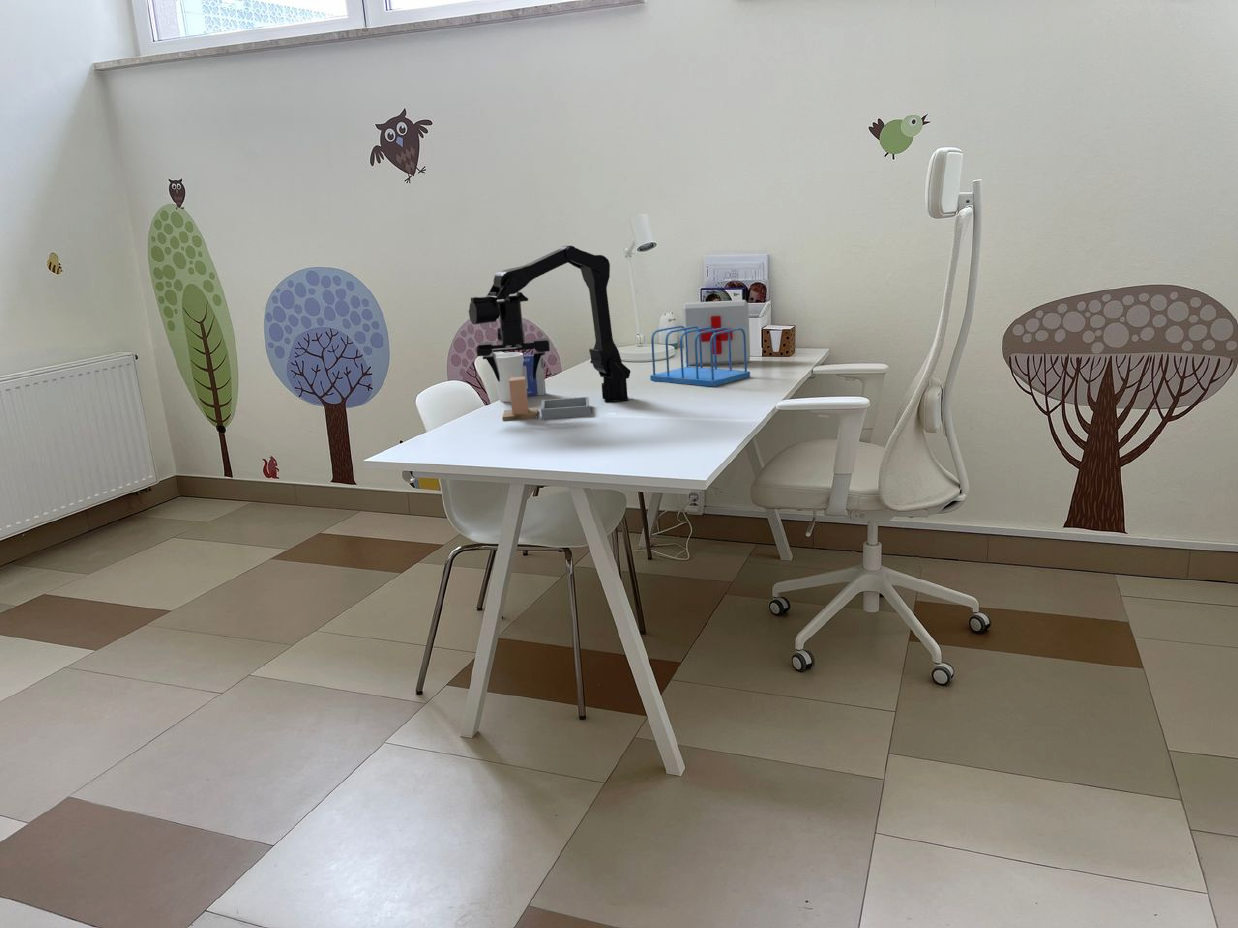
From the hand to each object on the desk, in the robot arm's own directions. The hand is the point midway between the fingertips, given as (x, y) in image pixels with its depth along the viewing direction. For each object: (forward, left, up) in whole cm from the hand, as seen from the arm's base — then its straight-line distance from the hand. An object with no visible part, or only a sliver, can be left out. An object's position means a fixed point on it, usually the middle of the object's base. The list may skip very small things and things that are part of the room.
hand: (516, 380), depth 247 cm
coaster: (0, 0, -10) cm, 10 cm away
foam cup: (+4, -24, -10) cm, 26 cm away
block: (0, 0, -9) cm, 9 cm away
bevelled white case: (-62, -59, -10) cm, 86 cm away
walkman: (-2, -29, -10) cm, 31 cm away
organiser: (-12, 0, -10) cm, 16 cm away
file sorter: (-53, -34, -10) cm, 63 cm away
